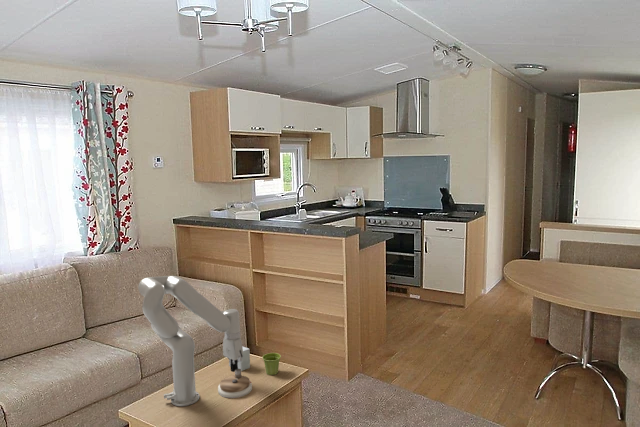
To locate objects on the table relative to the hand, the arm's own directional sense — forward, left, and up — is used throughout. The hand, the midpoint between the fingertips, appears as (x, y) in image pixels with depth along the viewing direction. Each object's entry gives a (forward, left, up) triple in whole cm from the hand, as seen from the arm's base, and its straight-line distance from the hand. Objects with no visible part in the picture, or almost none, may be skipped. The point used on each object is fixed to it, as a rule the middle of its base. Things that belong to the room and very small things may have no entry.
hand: (234, 370), depth 229 cm
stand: (-1, -7, -6) cm, 10 cm away
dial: (-1, -7, -4) cm, 8 cm away
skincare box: (+6, +17, -6) cm, 19 cm away
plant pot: (+20, +3, -6) cm, 21 cm away
